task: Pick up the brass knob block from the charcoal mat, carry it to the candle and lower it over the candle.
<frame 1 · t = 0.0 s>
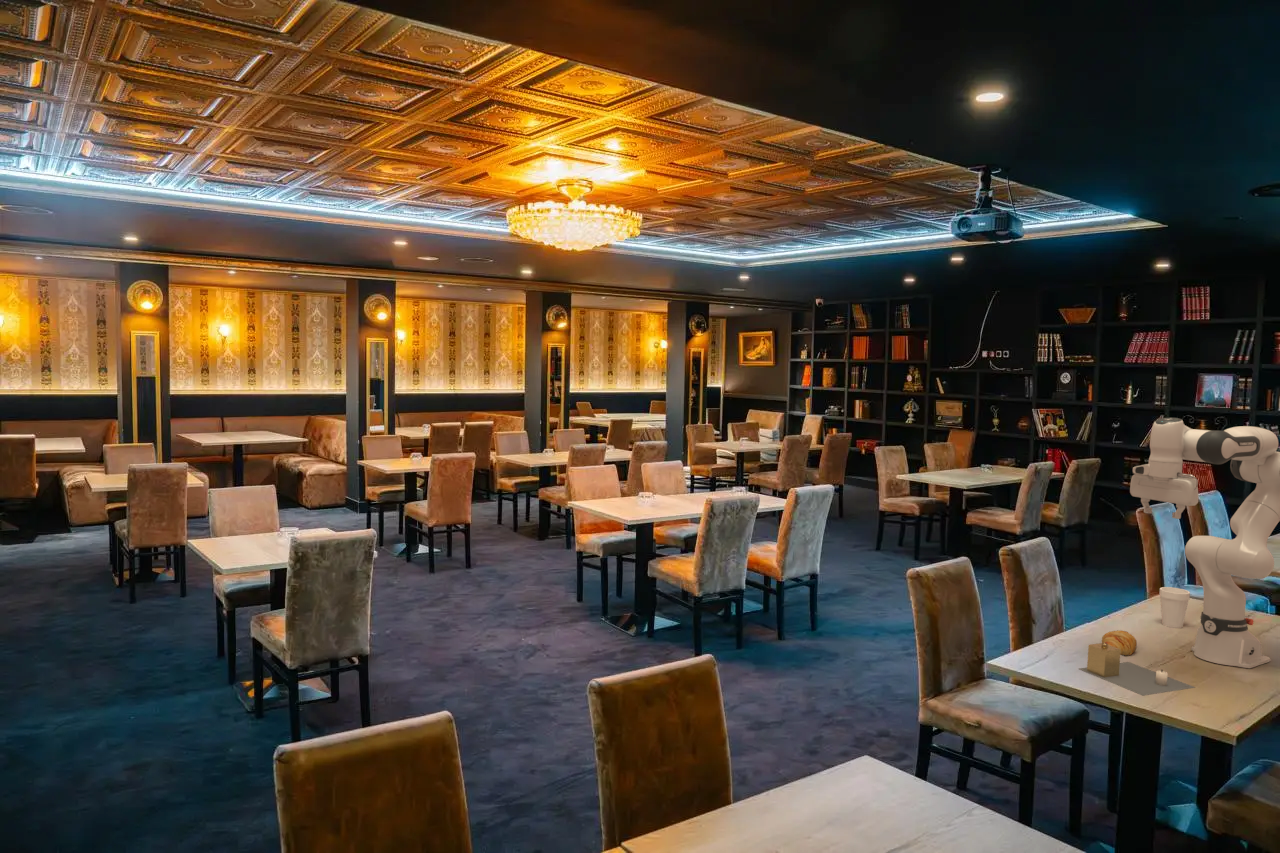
hand: (1161, 515, 258), 48 cm above the table, tool pointing down, fingers open, 8 cm apart
croissant: (1117, 651, 278), on the table
foam cup: (1172, 625, 307), on the table
brass knob block: (1102, 672, 254), point 1 cm above the table, touching charcoal mat
charcoal mat: (1134, 680, 251), on the table
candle: (1161, 683, 246), resting on charcoal mat
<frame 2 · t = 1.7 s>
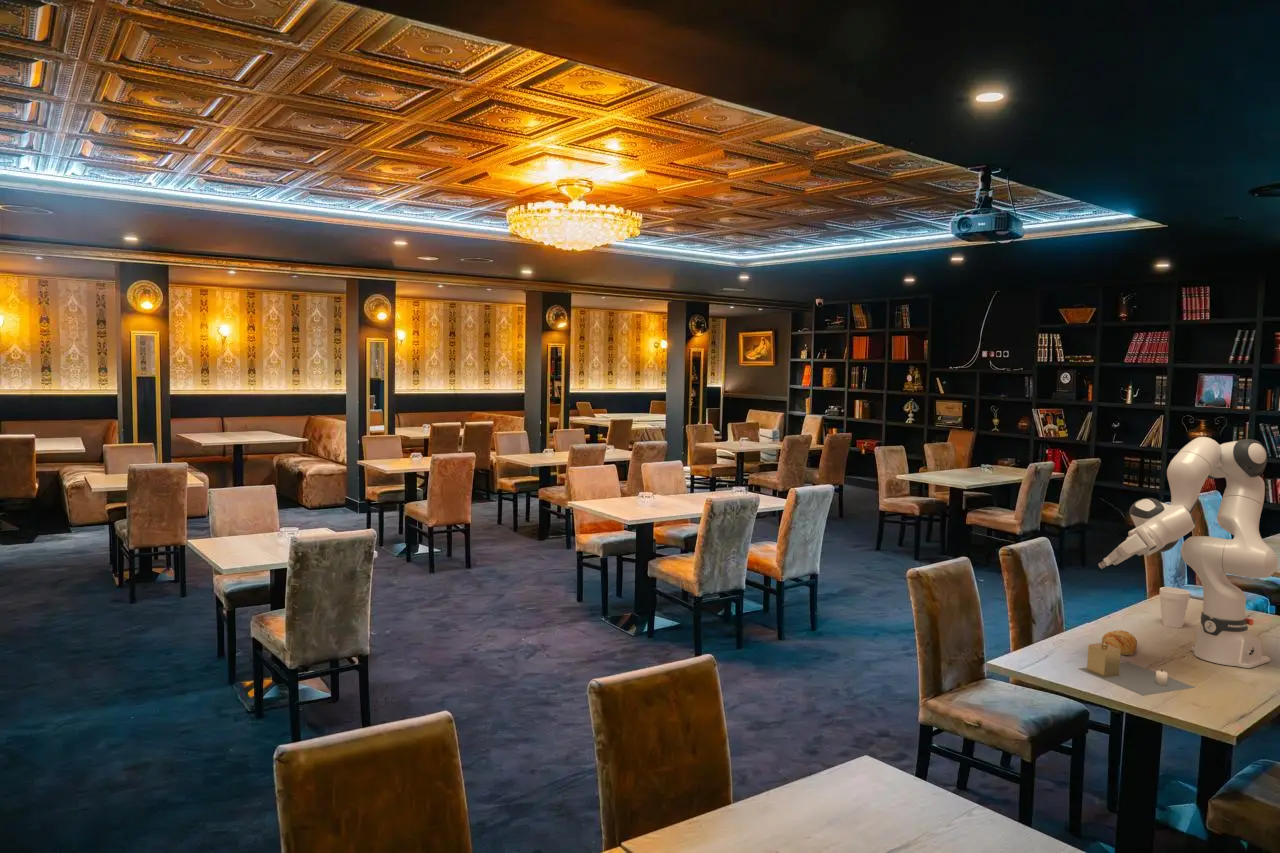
hand: (1102, 564, 262), 32 cm above the table, tool tilted 55°, fingers open, 8 cm apart
nothing on the table moved.
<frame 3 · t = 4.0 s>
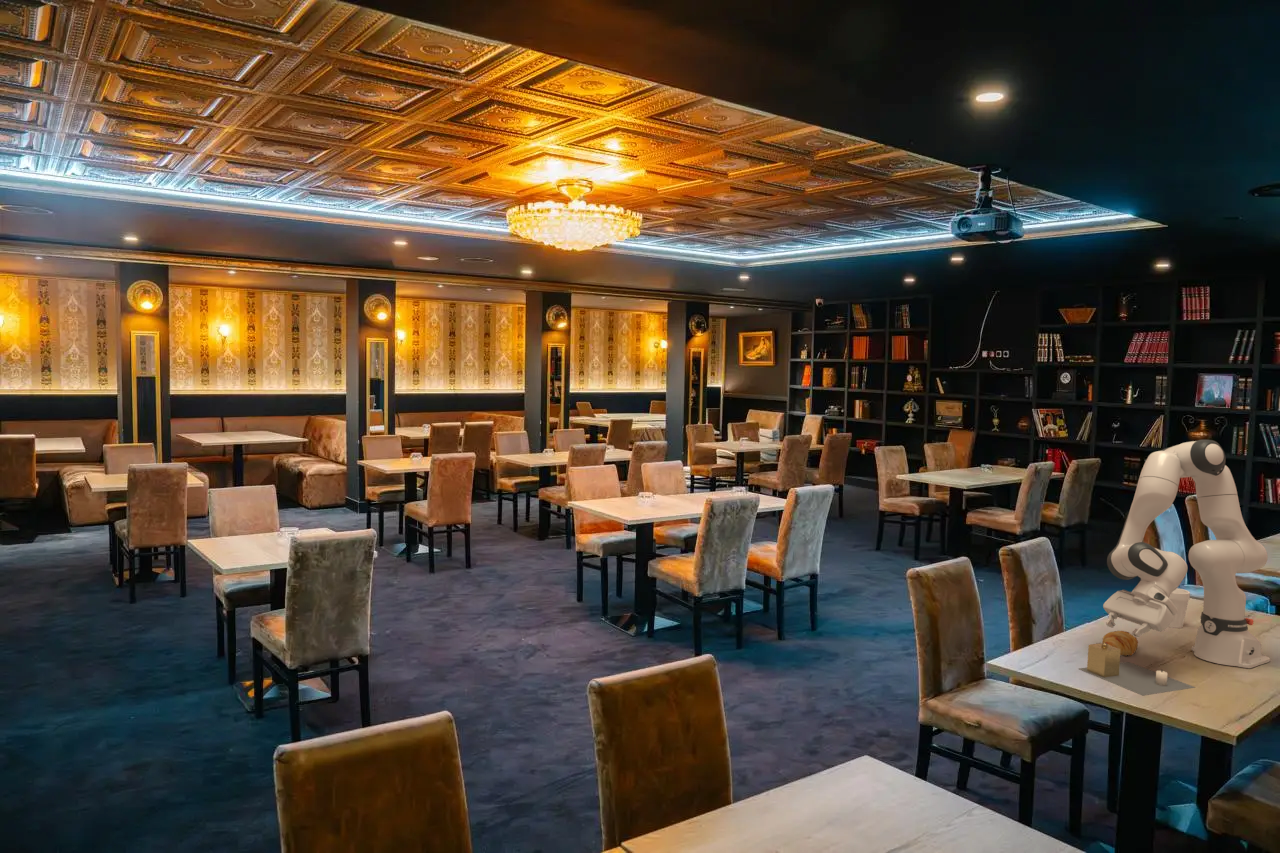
hand: (1121, 630, 258), 13 cm above the table, tool tilted 45°, fingers open, 8 cm apart
nothing on the table moved.
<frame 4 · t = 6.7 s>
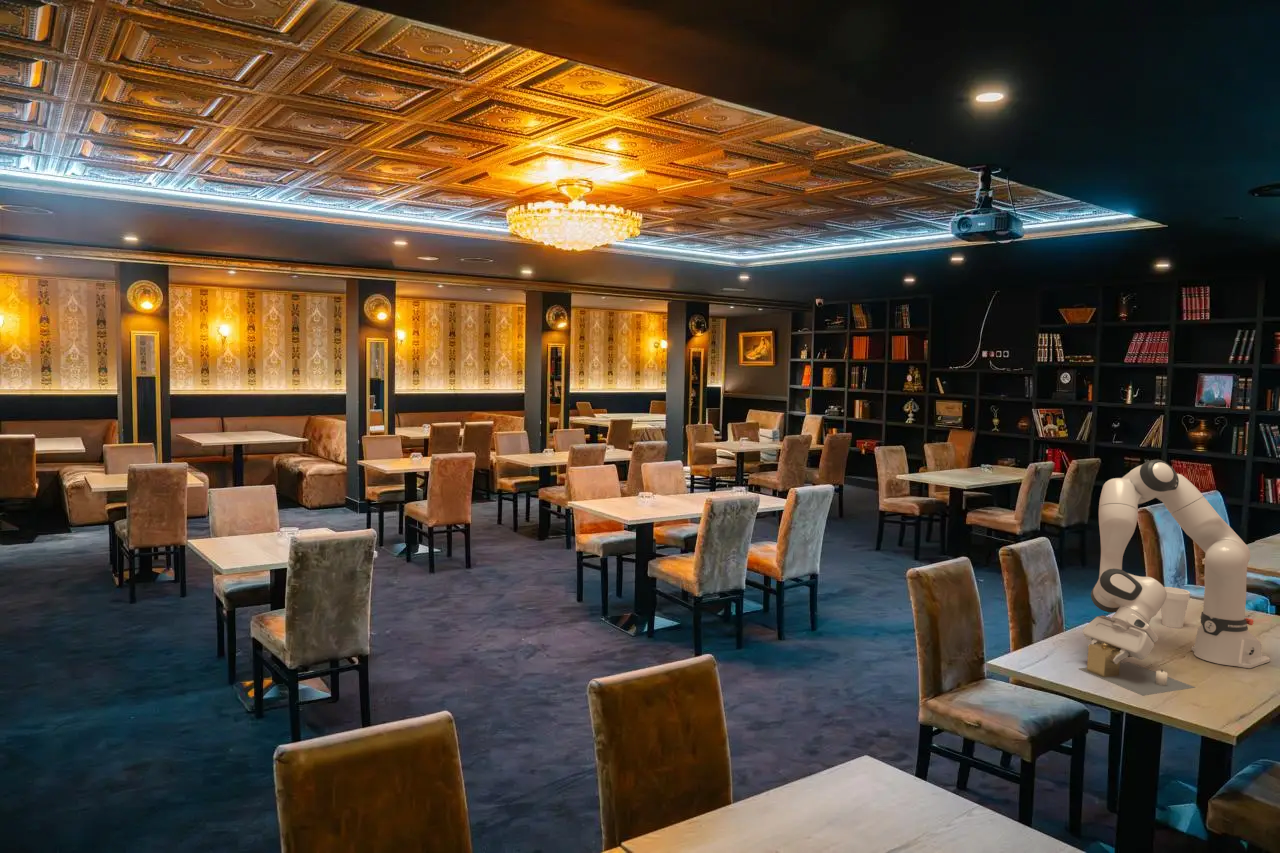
hand: (1102, 658, 254), 5 cm above the table, tool tilted 45°, fingers closed on brass knob block, 6 cm apart
brass knob block: (1102, 672, 254), point 1 cm above the table, touching charcoal mat, gripper
everything else where it was.
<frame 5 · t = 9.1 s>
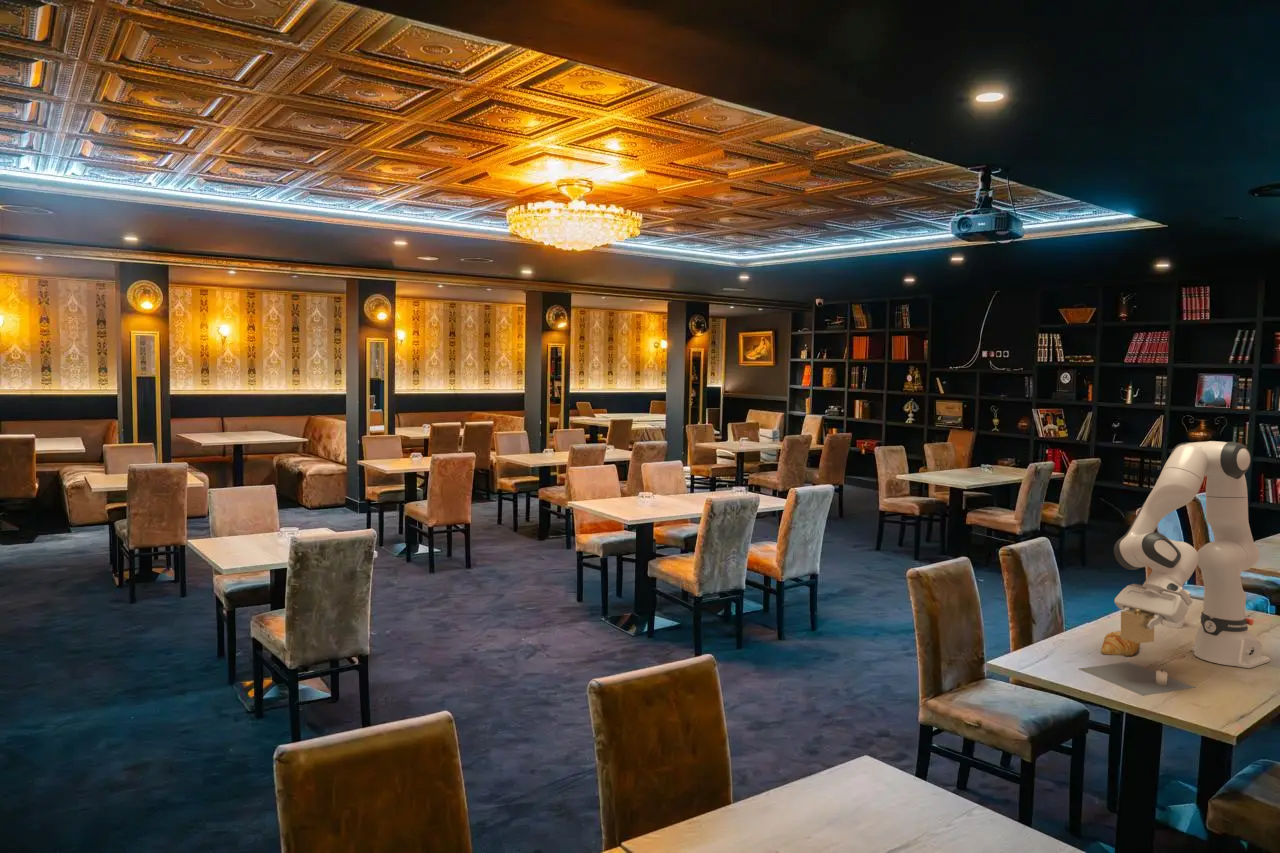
hand: (1136, 624, 248), 17 cm above the table, tool tilted 45°, fingers closed on brass knob block, 6 cm apart
brass knob block: (1137, 639, 248), point 13 cm above the table, touching gripper
everything else where it was.
when the fingers open (7 cm above the table, at t = 11.8 s): brass knob block drops 2 cm, resting on charcoal mat.
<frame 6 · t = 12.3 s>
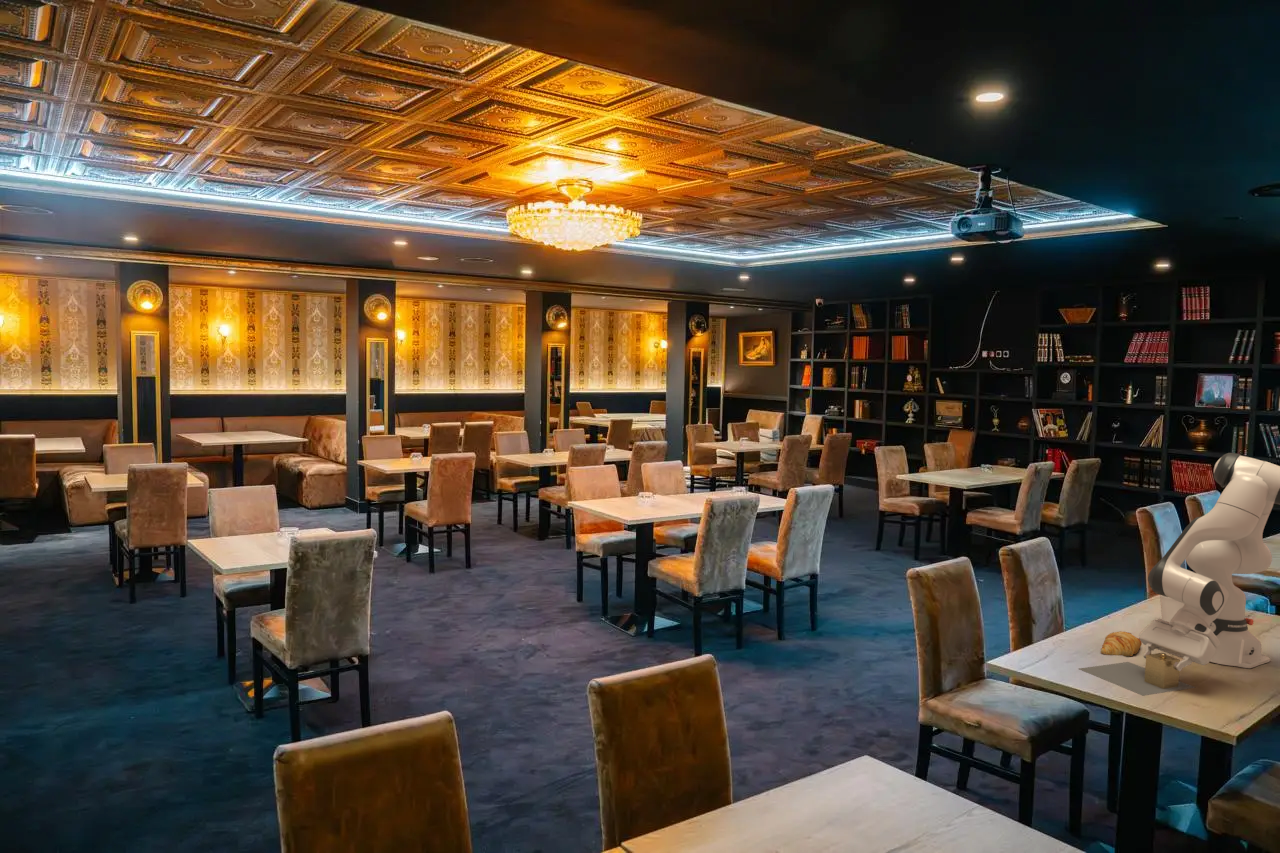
hand: (1161, 663, 245), 7 cm above the table, tool tilted 45°, fingers open, 8 cm apart
brass knob block: (1161, 684, 246), point 1 cm above the table, touching charcoal mat
everything else where it was.
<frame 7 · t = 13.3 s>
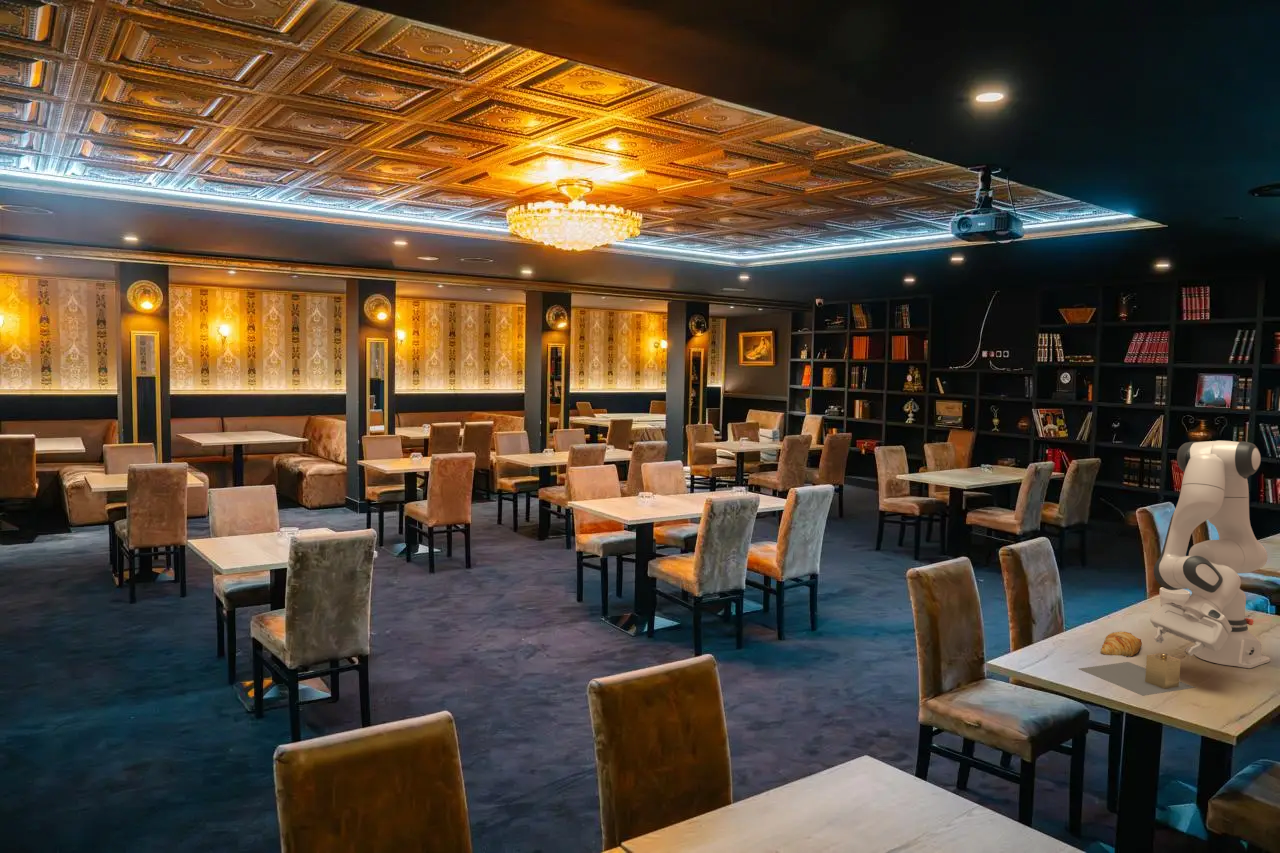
hand: (1172, 647, 248), 11 cm above the table, tool tilted 45°, fingers open, 8 cm apart
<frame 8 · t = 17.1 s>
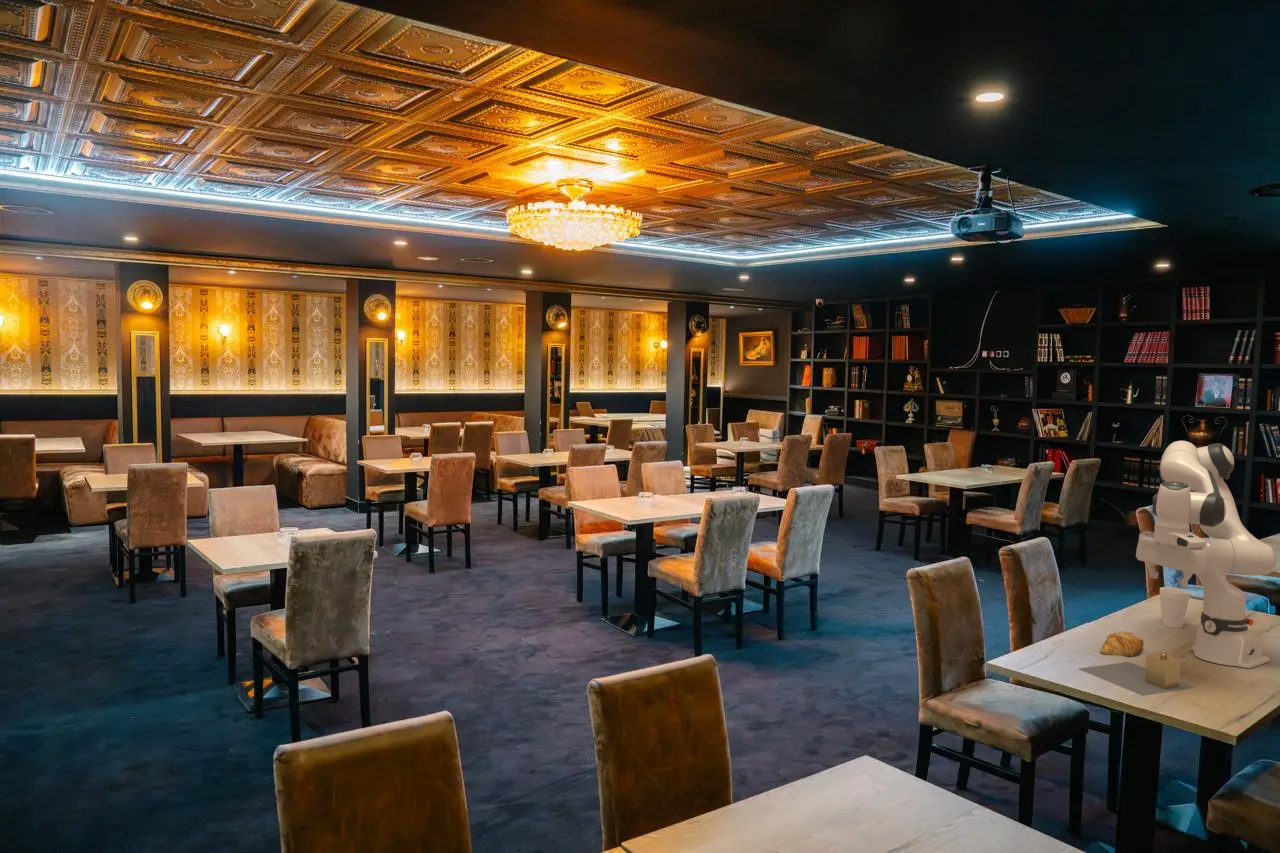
hand: (1168, 581, 252), 29 cm above the table, tool pointing down, fingers open, 8 cm apart
at the end: brass knob block 0.1 cm off-centre on the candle, point 0.0 cm above the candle's base; brass knob block tilted 0°; the gripper is holding nothing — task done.
